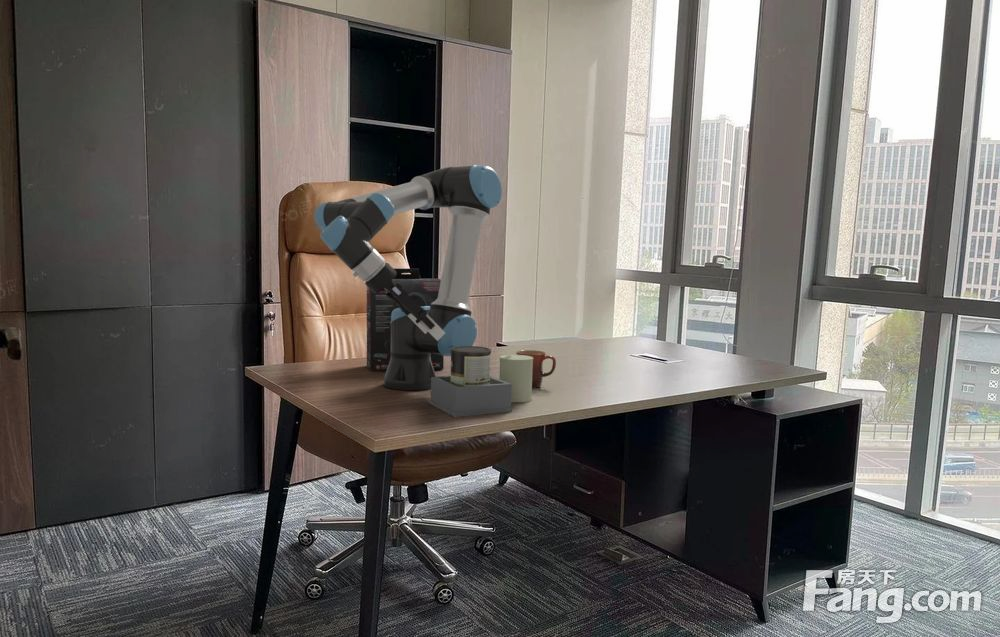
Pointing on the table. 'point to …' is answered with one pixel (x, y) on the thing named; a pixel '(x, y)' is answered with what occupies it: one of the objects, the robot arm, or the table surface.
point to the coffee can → (470, 366)
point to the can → (517, 376)
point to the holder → (471, 397)
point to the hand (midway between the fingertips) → (434, 333)
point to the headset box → (381, 313)
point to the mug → (538, 365)
